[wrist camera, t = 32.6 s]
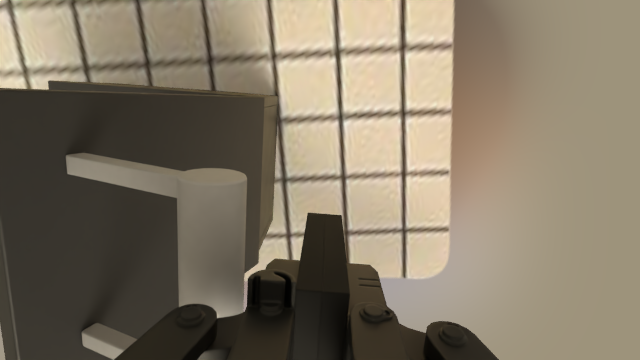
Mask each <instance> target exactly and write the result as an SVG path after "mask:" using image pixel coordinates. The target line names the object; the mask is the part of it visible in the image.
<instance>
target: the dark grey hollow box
mask: <svg viewBox="0 0 640 360" xmlns="http://www.w3.org/2000/svg"><path fill="white" fill-rule="evenodd" d="M48 84H49V90H71V91H101V92H131V93H161V94H192V95H222V96H252V97H264V98H265V104H264V130H263V156H262V182H261V208H260V234H259V249H260V247H261V245H262V243H263V240H264V238H265V236H266V234H267V231H268V229H269V227H270V224H271V222H272V220H273V200H274V179H275V158H276V136H277V115H278V96H274V95H261V94H248V93H235V92H222V91H209V90H196V89H183V88H170V87H157V86H144V85H131V84H116V83H93V82H70V81H48Z"/></svg>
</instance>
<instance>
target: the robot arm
mask: <svg viewBox="0 0 640 360" xmlns="http://www.w3.org/2000/svg"><path fill="white" fill-rule="evenodd" d="M114 360H499V359H497V357H496V356H495V355H494V354H493V353H492V352H491V351H490V350H489V349H488V348H487V347H486V346H485V345H484V344H483V343H482V342H481V341H480V340H479V339H478V338H477V336H476V335H475V334H473V333H472V332H471V331H469V330H468V329H467V328H465V327H462V326H461V325H459V324H456V323H452V322H445V321H438V322H433V323H431V324H430V325H429V326H428V327H427V331H426V333H423V332H420V331H416V330H413V329H410V328H407V327H405V326H403V325H401V324H399V322H398V319H397V316H396V315H395V314H394V312H393V311H392V310H391V309H389V308H388V307H387V305H386V301H385V298H384V294H383V291H382V288H381V283H380V279H379V276H378V272H377V271H376V270H375V269H374V268H373V267H372V266H371V265H364V264H351V263H347V261H346V252H345V243H344V234H343V225H342V216H341V215H330V214H317V213H308V216H307V222H306V228H305V234H304V240H303V246H302V252H301V258H300V261H298V260H285V259H274V260H273V261H271V262H270V263H269V264H268V265H267V267H266V270H261V271H258V272H256V273H254V274H252V275H251V276H250V277H249V278H248V295H247V307H246V310H245V312H243V313H240V314H238V315H234V316H229V317H222V318H217V312H216V311H215V310H214V309H213V308H212V307H210V306H208V305H205V304H187V305H184V306H180V307H177V308H175V309H174V310H172V311H171V312H169V313H168V314H167V315H165V316H164V317H163V318H162V319H161V320H160V321H158V322H157V323H156V324H155V325H154V326H153V327H151V328H150V329H149V330H148V331H147V332H146V333H144V334H143V335H142V336H141V337H140V338H138V339H137V340H136V341H135V342H134V343H133V344H131V345H130V346H129V347H128V348H127V349H126V350H124V351H123V352H122V353H121V354H120V355H119V356H117V357H116V358H115V359H114Z"/></svg>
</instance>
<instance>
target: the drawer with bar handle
mask: <svg viewBox="0 0 640 360" xmlns="http://www.w3.org/2000/svg"><path fill="white" fill-rule="evenodd" d="M264 104H265V98H264V97H252V96H222V95H192V94H161V93H131V92H101V91H71V90H41V89H11V88H0V324H1V330H2V331H1V332H2V338H3V345H4V352H5V359H6V360H114V359H115V358H116V357H117V356H119V355H120V354H121V353H122V352H123V351H124V350H126V349H127V348H128V347H129V346H130V345H131V344H133V343H134V342H135V341H136V340H137V339H138V338H140V337H141V336H142V335H143V334H144V333H146V332H147V331H148V330H149V329H150V328H151V327H153V326H154V325H155V324H156V323H157V322H158V321H160V320H161V319H162V318H163V317H164V316H165V315H167V314H168V313H169V312H171V311H172V310H174V309H175V308H177V307H180V306H184V305H187V304H205V305H208V306H210V307H212V308H213V309H214V310H215V311H216V312H217V318H222V317H229V316H234V315H238V314H240V313H243V300H244V273H246V272H247V271H248V270H250V269H251V268H252V267H254V266H255V265H257V264H258V260H259V234H260V208H261V182H262V156H263V130H264Z"/></svg>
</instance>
